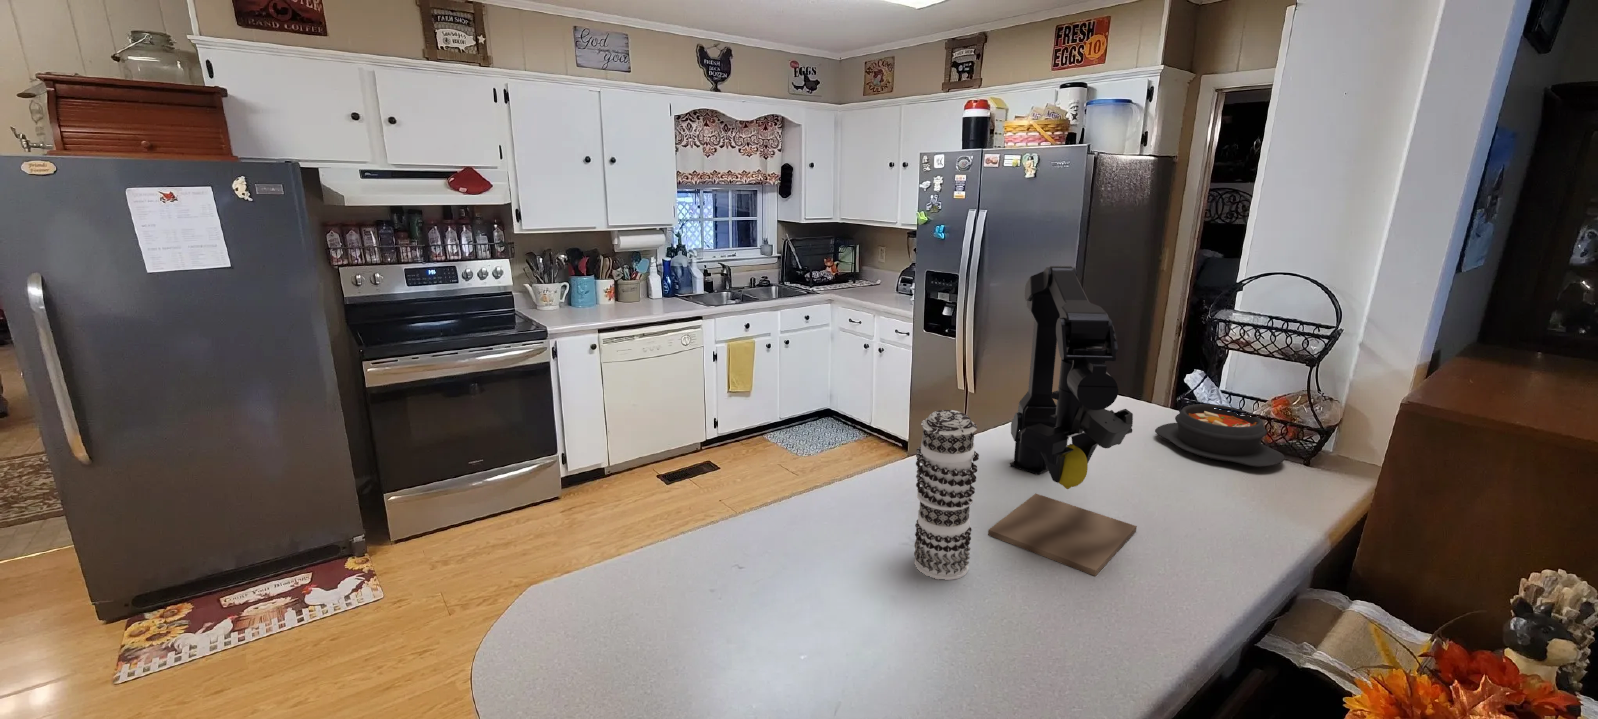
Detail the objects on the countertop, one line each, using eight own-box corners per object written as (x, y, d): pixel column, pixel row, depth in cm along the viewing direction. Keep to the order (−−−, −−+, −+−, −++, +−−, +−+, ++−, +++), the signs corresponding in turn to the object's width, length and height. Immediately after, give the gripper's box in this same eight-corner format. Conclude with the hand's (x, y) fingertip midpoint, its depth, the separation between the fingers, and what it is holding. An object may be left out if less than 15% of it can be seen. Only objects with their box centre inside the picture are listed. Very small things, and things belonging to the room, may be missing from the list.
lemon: (1079, 481, 117) (1084, 438, 115) (1089, 496, 112) (1094, 451, 110) (1045, 480, 118) (1050, 437, 115) (1054, 495, 112) (1058, 450, 110)
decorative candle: (933, 542, 114) (940, 400, 108) (982, 564, 108) (993, 414, 101) (899, 564, 108) (904, 415, 101) (949, 588, 102) (958, 431, 95)
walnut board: (987, 534, 117) (988, 529, 116) (1035, 498, 129) (1035, 493, 129) (1095, 576, 105) (1096, 570, 104) (1136, 531, 117) (1136, 525, 117)
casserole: (1300, 461, 144) (1308, 424, 141) (1253, 483, 134) (1261, 443, 132) (1183, 425, 164) (1188, 391, 162) (1135, 441, 155) (1140, 406, 153)
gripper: (1083, 414, 99) (1072, 512, 103) (1159, 391, 108) (1146, 481, 112) (1021, 393, 108) (1014, 484, 112) (1097, 373, 117) (1087, 458, 121)
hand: (1067, 477), depth 114 cm, fingers closed on lemon, 5 cm apart
